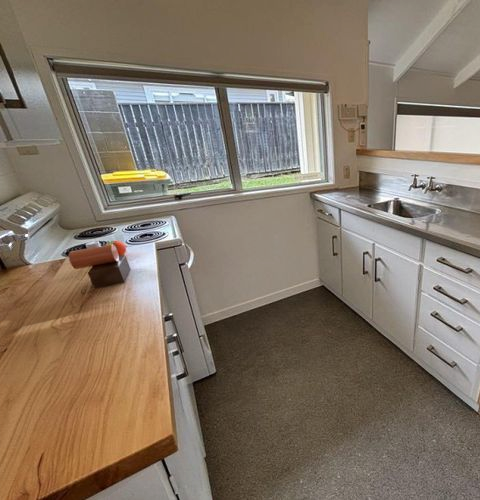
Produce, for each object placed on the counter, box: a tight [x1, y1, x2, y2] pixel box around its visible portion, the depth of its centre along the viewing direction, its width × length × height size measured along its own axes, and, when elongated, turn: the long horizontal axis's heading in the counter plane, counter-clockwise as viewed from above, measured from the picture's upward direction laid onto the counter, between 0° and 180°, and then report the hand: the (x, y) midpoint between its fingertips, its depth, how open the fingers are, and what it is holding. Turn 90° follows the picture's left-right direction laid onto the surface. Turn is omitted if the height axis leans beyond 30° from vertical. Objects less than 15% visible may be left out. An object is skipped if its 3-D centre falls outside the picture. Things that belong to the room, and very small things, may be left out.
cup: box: [68, 244, 119, 270], centre depth 94 cm, size 11×6×6 cm, turn 118°
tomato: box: [104, 240, 127, 256], centre depth 115 cm, size 8×7×7 cm
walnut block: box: [87, 254, 131, 290], centre depth 97 cm, size 8×12×6 cm, turn 28°
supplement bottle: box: [85, 240, 101, 249], centre depth 111 cm, size 5×5×8 cm
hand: (19, 241), depth 84 cm, fingers open, 8 cm apart
